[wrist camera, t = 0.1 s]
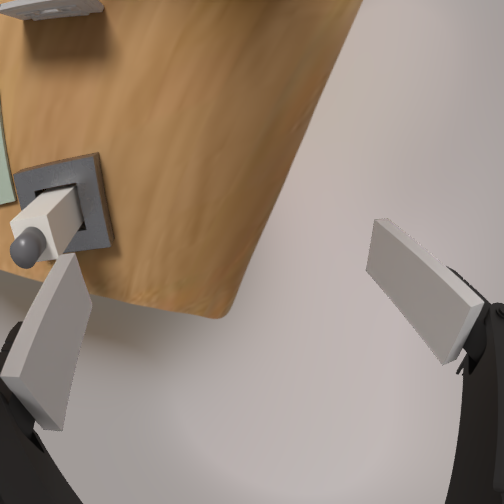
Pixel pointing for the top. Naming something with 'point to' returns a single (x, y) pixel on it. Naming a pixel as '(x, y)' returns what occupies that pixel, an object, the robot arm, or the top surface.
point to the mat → (5, 170)
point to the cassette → (49, 8)
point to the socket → (89, 189)
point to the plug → (46, 226)
